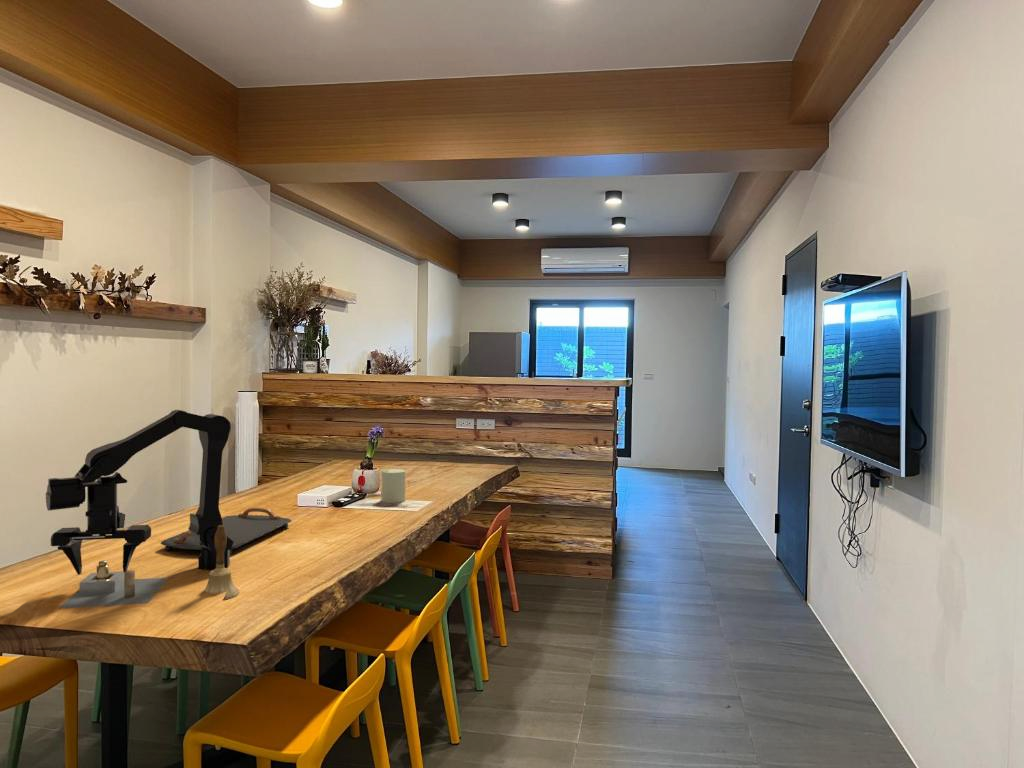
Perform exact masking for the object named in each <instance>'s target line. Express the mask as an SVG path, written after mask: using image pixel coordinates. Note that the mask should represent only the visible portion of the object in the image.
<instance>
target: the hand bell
mask: <svg viewBox="0 0 1024 768" xmlns="http://www.w3.org/2000/svg"><path fill="white" fill-rule="evenodd" d="M214 543H215V548H216V552H217V560H216V561H217V562H216V569H214V570H210V572H209V573H208V580H207V583H206V586H205V587H204V592H205V593H209V594H220V593H221V594H222V593H225V595H224V597H222V598H223V599H222V601H227V600H230V599H233V598H236V597H237V596H238V595H239V594H240V590H239V589H238V588H237V587H236V586H235V584H234V582H233V580H232V573H231V570H230V569H228V568H225V567H224V551H225V548H226V543H227V535H226V532H225V529H224V525H219V526H218V528H217V531H216V534H215V538H214Z"/></svg>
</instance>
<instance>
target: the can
mask: <svg viewBox="0 0 1024 768" xmlns="http://www.w3.org/2000/svg"><path fill="white" fill-rule="evenodd" d="M406 471H407V470H405V469H402V468H388V469H387V468H386V469H381V497H380V501H381V503H385V504H399V503H404V502H405V501H406Z"/></svg>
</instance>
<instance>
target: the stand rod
mask: <svg viewBox="0 0 1024 768" xmlns="http://www.w3.org/2000/svg"><path fill="white" fill-rule="evenodd" d="M135 579H136V571H135V570H134V569H127V571H125V572H124V597H125V598H131V597H134V596H135Z"/></svg>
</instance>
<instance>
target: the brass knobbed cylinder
mask: <svg viewBox="0 0 1024 768" xmlns="http://www.w3.org/2000/svg"><path fill="white" fill-rule="evenodd" d="M109 572H110V564H108V561H107V560H99V561H98V565H96V573H97V580H99V579H109Z"/></svg>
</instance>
